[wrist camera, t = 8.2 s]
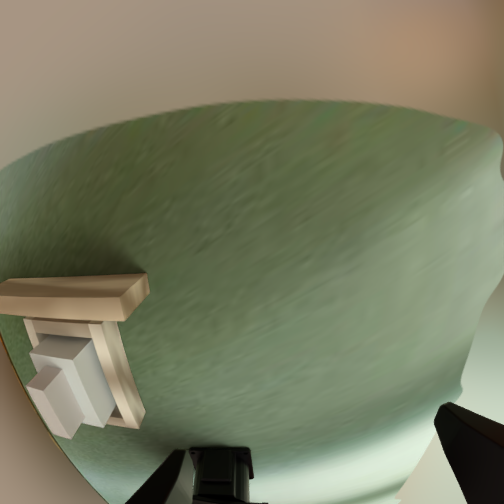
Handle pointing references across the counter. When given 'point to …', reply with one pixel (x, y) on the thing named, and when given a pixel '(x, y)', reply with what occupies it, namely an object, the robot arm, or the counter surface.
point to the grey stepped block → (70, 384)
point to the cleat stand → (85, 323)
